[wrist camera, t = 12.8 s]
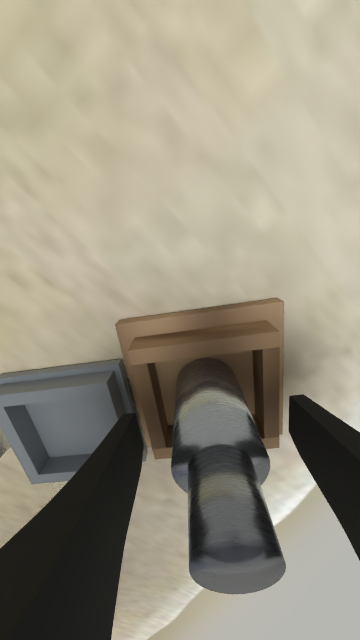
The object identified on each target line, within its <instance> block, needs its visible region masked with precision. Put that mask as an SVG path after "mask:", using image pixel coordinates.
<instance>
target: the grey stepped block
mask: <svg viewBox="0 0 360 640" xmlns="http://www.w3.org/2000/svg"><path fill="white" fill-rule="evenodd" d="M10 446H11V445H10V444H9V442H8V440H7V438H6V436H5V435H4V433H3V431H2V429H1V427H0V457H1V456H2V455H3V454H4V453H5V452H6V451H7V449H8V448H9V447H10Z"/></svg>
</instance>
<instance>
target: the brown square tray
mask: <svg viewBox="0 0 360 640" xmlns="http://www.w3.org/2000/svg"><path fill="white" fill-rule="evenodd" d="M115 326H116V330H117V334H118V337H119V341H120V345H121V349H122V353H123V356H124V360H125V364H126V368H127V371H128V375H129V379H130V383H131V386H132V390H133V394H134V398H135V401H136V405H137V409H138V413H139V416H140V420H141V424H142V428H143V431H144V435H145V439H146V443H147V446H148V447H152V449H153V453H154V457H155V459H163V458H172V445H173V427H174V410H175V393H176V380H177V376H178V374H179V372H180V370H181V369H182V368H183V367H184V366H185V365H186V364H188V363H189V362H191V361H193V360H195V359H199V358H215V359H219V360H221V361H223V362H225V363H226V364H228V365H229V366H230V367H231V368H232V370H233V371H234V374H235V376H236V378H237V381H238V383H239V386H240V388H241V390H242V393H243V395H244V398H245V400H246V403H247V405H248V407H249V410H250V412H251V415H252V417H253V420H254V422H255V424H256V427H257V429H258V432H259V434H260V437H261V439H262V441H263V444H264V446H265V449H271V448H279V435H280V434H282V417H283V334H284V301H282V300H280V299H278V298H274V299H267V300H260V301H253V302H245V303H238V304H231V305H224V306H217V307H209V308H202V309H195V310H188V311H181V312H173V313H166V314H159V315H152V316H145V317H137V318H130V319H123V320H119V321H118V322H117V323H116V324H115Z"/></svg>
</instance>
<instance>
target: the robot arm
mask: <svg viewBox="0 0 360 640" xmlns="http://www.w3.org/2000/svg"><path fill="white" fill-rule="evenodd" d="M289 433H290V435H291V437H292V439H293V441H294V444H295V446H296V448H297V450H298V452H299V454H300V456H301V458H302V460H303V461H304V463H305V465H306V466H307V468H308V470H309V471H310V473H311V475H312V476H313V478H314V480H315V481H316V483H317V485H318V486H319V488H320V490H321V491H322V493H323V495H324V497H325V498H326V500H327V502H328V503H329V505H330V506H331V508H332V510H333V511H334V513H335V515H336V516H337V518H338V520H339V522H340V524H341V525H342V527H343V529H344V531H345V533H346V534H347V536H348V538H349V540H350V542H351V544H352V546H353V548H354V550H355V552H356V554H357V556H358V558H359V560H360V432H358V431H357V430H355V429H354V428H352V427H351V426H349V425H348V424H346V423H345V422H343V421H342V420H340V419H339V418H337V417H336V416H334V415H333V414H331V413H330V412H328V411H327V410H325V409H324V408H323V407H321V406H320V405H318V404H317V403H315V402H314V401H312V400H311V399H309V398H308V397H306V396H305V395H294V396H289ZM143 450H144V443H143V439H142V436H141V432H140V428H139V425H138V421H137V417H136V414H135V413H128V414H123V415H122V416H121V417H120V418H119V420H118V421H117V422H116V423H115V425H114V426H113V427H112V429H111V430H110V431H109V433H108V434H107V435H106V437H105V438H104V439H103V440H102V442H101V443H100V444H99V445H98V447H97V448H96V449H95V451H94V452H93V453H92V454H91V456H90V457H89V458H88V459H87V460H86V462H85V463H84V464H83V465H82V466H81V467H80V469H79V470H78V471H77V472H76V473H75V474H74V476H73V477H72V478H71V479H70V480H69V481H68V482H67V484H66V485H65V486H64V487H63V488H62V489H61V490H60V491H59V492H58V493H57V494H56V495H55V496H54V497H53V498H52V499H51V501H50V502H49V503H48V504H47V505H46V506H45V507H44V508H43V509H42V510H41V511H40V512H39V513H38V514H37V515H36V516H34V517H33V518H32V519H31V520H30V521H29V522H28V523H27V524H26V525H25V526H24V527H23V528H22V529H21V530H20V531H19V532H18V533H17V534H15V535H14V536H13V537H12V538H11V539H10V540H9V541H8V542H7V543H6V544H5V545H4V546H3V547H1V548H0V640H111V635H112V627H113V619H114V612H115V605H116V598H117V591H118V584H119V577H120V570H121V564H122V557H123V551H124V545H125V540H126V535H127V530H128V526H129V521H130V517H131V512H132V508H133V504H134V499H135V495H136V490H137V486H138V481H139V477H140V472H141V466H142V459H143Z"/></svg>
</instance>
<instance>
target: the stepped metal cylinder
mask: <svg viewBox="0 0 360 640" xmlns="http://www.w3.org/2000/svg"><path fill="white" fill-rule="evenodd" d="M269 470H270V460H269V456H268V454H267V451H266V449H265V446H264V444H263V441H262V439H261V437H260V434H259V432H258V429H257V427H256V424H255V422H254V420H253V417H252V415H251V412H250V410H249V407H248V405H247V403H246V400H245V398H244V395H243V393H242V390H241V388H240V386H239V383H238V381H237V378H236V376H235V374H234V371H233V370H232V368H231V367H230V366H229V365H228V364H226V363H225V362H223V361H221V360H219V359H215V358H199V359H195V360H193V361H191V362H189V363H188V364H186V365H185V366H184V367H183V368H182V369H181V370H180V372H179V374H178V376H177V380H176V393H175V410H174V427H173V445H172V462H171V471H172V475H173V478H174V480H175V481H176V483H177V484H178V485H179V487H180V488H182V489H183V490H184V491H185V492H187V493H188V528H189V572H190V575H191V577H192V578H193V580H194V581H195V582H196V583H198V584H199V585H200V586H202V587H204V588H206V589H209V590H211V591H215V592H219V593H226V594H246V593H252V592H257V591H260V590H263V589H266V588H268V587H270V586H272V585H273V584H275V583H276V582H278V580H280V579H281V577H282V576H283V575H284V572H285V569H286V564H285V561H284V558H283V554H282V551H281V548H280V545H279V542H278V539H277V536H276V533H275V530H274V526H273V523H272V520H271V517H270V514H269V511H268V508H267V505H266V502H265V499H264V496H263V493H262V489H261V485H262V483H263V482H264V481H265V479H266V478H267V476H268V473H269Z"/></svg>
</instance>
